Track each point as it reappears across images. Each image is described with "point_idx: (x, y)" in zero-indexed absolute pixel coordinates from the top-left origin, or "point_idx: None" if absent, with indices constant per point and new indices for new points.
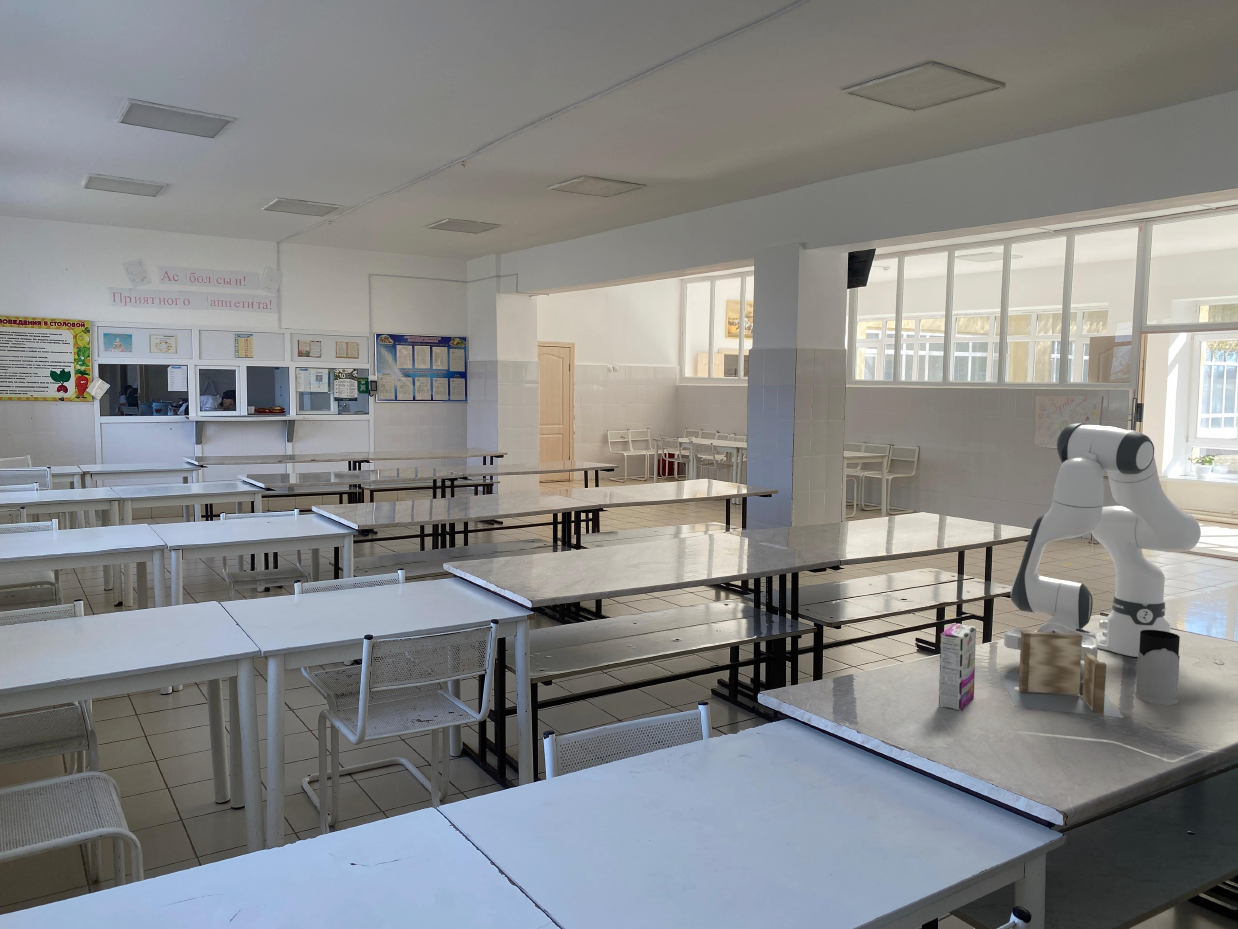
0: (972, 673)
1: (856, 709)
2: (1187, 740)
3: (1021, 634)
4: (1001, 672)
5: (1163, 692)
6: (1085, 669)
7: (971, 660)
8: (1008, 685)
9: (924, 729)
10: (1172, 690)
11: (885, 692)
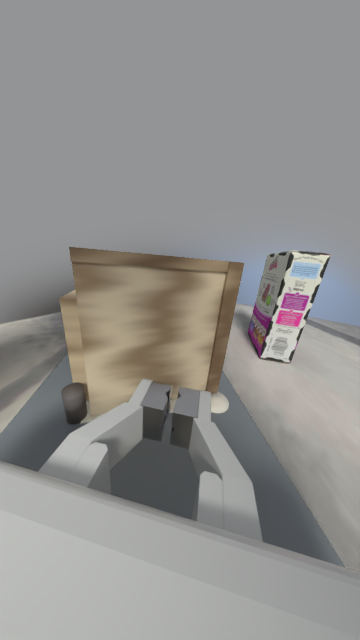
0: (265, 319)
1: (306, 324)
2: (39, 325)
3: (240, 271)
4: None
5: None
6: None
7: (269, 297)
8: (245, 417)
9: (248, 314)
10: None
11: (337, 349)
